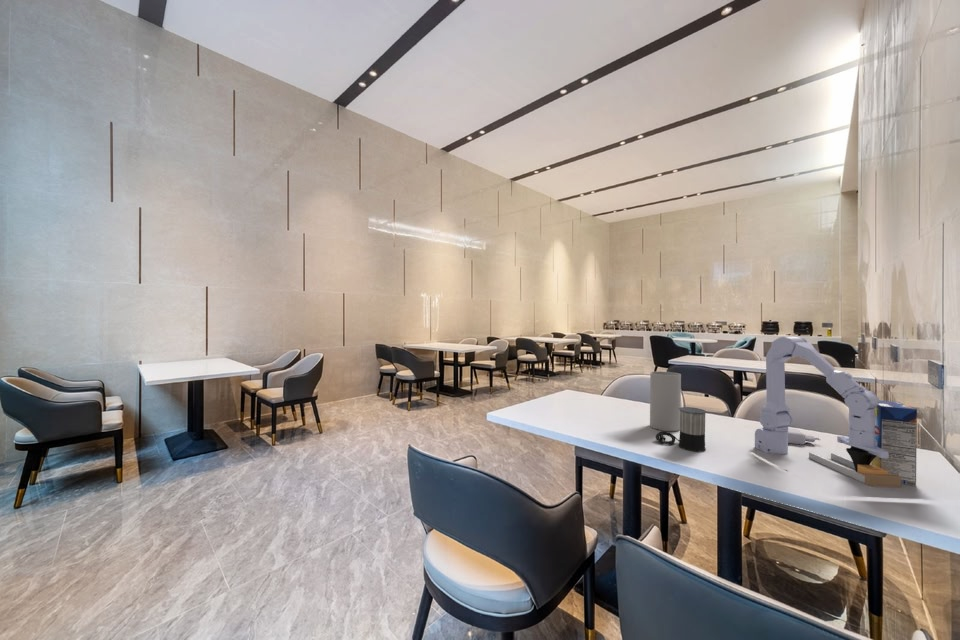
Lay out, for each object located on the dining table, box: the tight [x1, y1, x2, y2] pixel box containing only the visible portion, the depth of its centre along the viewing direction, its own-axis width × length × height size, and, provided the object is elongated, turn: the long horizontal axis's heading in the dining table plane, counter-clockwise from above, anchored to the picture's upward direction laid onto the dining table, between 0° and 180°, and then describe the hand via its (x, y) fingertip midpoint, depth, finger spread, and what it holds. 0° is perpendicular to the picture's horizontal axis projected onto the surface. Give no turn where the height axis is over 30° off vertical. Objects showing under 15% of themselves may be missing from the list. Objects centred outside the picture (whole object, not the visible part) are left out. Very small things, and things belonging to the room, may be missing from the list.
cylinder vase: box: [649, 371, 682, 432], centre depth 169 cm, size 12×12×25 cm
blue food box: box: [870, 399, 918, 487], centre depth 116 cm, size 12×8×24 cm, turn 148°
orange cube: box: [858, 465, 888, 475], centre depth 112 cm, size 4×4×4 cm
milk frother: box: [655, 406, 707, 452], centre depth 145 cm, size 14×16×15 cm
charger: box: [788, 427, 821, 446], centre depth 151 cm, size 5×9×15 cm
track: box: [808, 451, 901, 488], centre depth 119 cm, size 8×22×4 cm, turn 176°
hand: (861, 472), depth 115 cm, fingers closed
